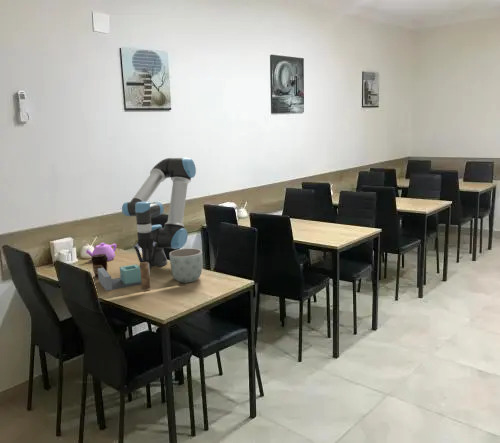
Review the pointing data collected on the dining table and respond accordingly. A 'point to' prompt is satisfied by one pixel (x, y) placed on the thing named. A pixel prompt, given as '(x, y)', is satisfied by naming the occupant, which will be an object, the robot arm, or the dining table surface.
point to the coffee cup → (99, 263)
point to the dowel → (145, 275)
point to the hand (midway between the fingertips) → (148, 274)
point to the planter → (186, 264)
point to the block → (130, 274)
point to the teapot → (103, 250)
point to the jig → (106, 280)
